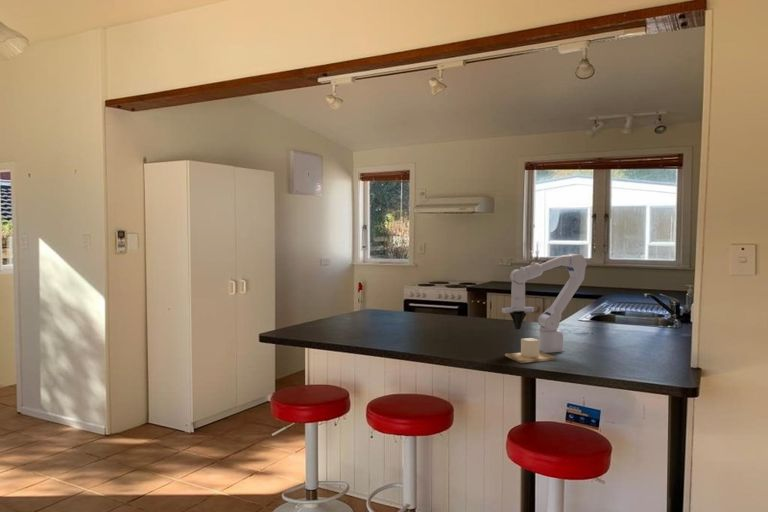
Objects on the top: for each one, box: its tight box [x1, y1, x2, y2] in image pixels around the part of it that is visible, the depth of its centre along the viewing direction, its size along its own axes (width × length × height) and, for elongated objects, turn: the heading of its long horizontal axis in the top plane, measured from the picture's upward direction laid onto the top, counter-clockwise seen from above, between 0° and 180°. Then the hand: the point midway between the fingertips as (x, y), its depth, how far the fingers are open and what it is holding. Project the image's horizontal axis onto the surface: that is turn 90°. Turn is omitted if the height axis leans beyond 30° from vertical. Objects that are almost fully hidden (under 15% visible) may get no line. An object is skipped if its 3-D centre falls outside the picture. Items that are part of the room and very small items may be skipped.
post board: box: [504, 351, 557, 364], centre depth 222 cm, size 16×12×6 cm
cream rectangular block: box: [520, 337, 539, 357], centre depth 222 cm, size 5×5×7 cm
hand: (517, 328), depth 234 cm, fingers closed
